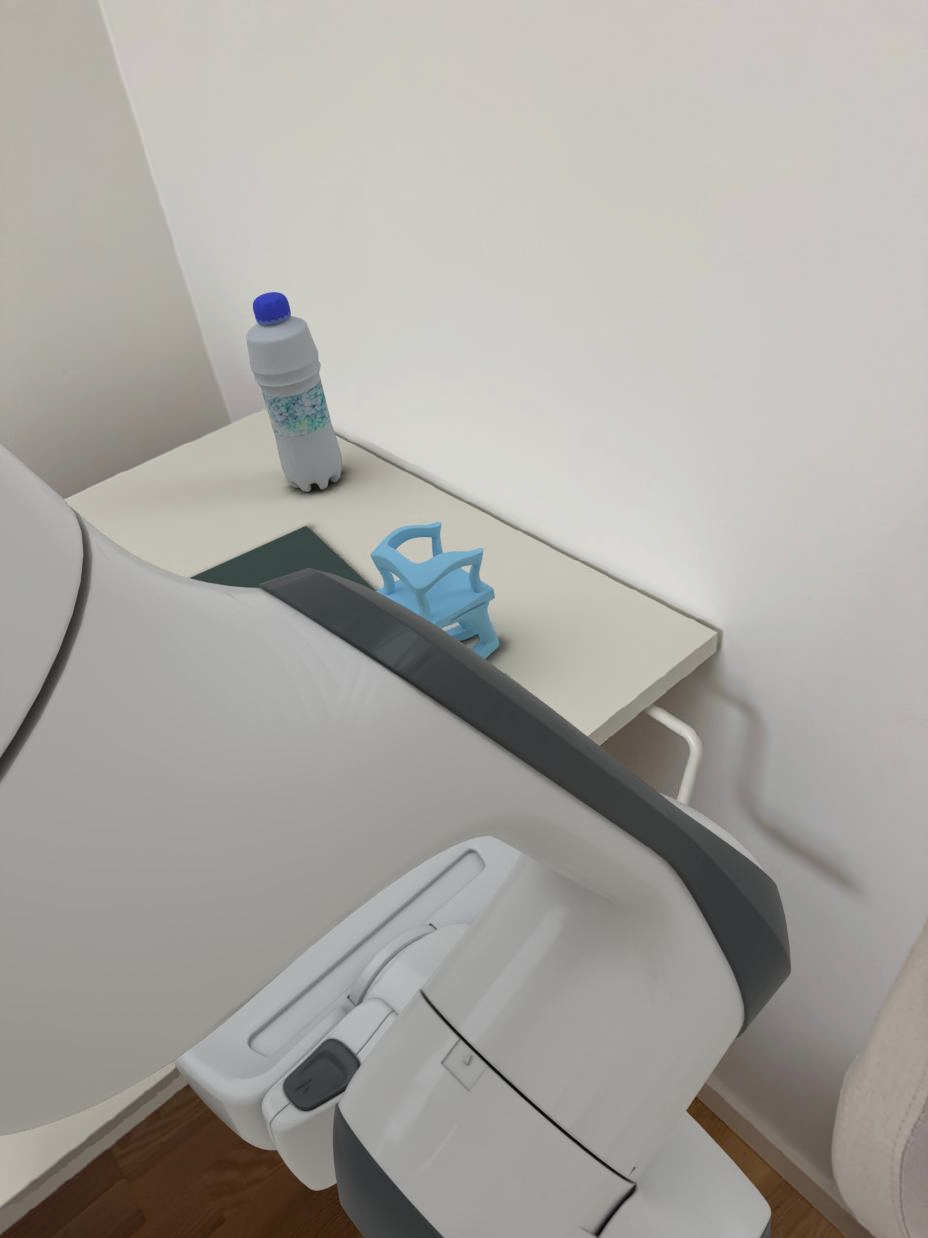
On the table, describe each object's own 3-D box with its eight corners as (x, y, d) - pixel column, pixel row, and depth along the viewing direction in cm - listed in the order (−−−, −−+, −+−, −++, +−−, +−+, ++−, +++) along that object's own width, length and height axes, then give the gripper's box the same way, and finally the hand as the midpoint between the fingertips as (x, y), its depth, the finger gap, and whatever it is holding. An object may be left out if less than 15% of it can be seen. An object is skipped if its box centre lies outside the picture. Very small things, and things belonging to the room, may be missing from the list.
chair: (519, 658, 75) (502, 531, 67) (434, 712, 71) (406, 584, 64) (460, 615, 80) (438, 493, 72) (378, 664, 76) (346, 540, 69)
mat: (192, 700, 76) (191, 695, 76) (132, 608, 87) (130, 604, 87) (386, 603, 83) (385, 599, 82) (307, 529, 94) (306, 525, 93)
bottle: (335, 457, 104) (289, 275, 92) (357, 482, 100) (312, 293, 87) (277, 478, 103) (223, 294, 90) (296, 504, 98) (242, 314, 85)
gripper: (584, 846, 48) (407, 720, 57) (245, 1161, 38) (94, 952, 47) (591, 918, 52) (424, 791, 60) (284, 1221, 42) (139, 1018, 51)
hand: (278, 863), depth 54 cm, fingers open, 8 cm apart
